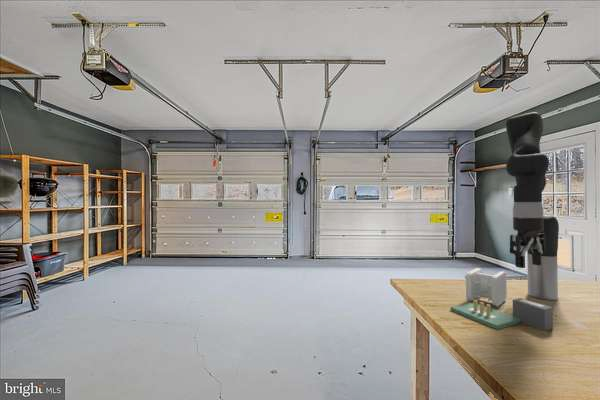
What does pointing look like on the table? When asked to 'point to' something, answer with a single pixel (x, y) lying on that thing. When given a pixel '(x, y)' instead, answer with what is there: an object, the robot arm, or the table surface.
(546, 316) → the block
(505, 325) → the board
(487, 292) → the white socket shroud
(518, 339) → the table surface
